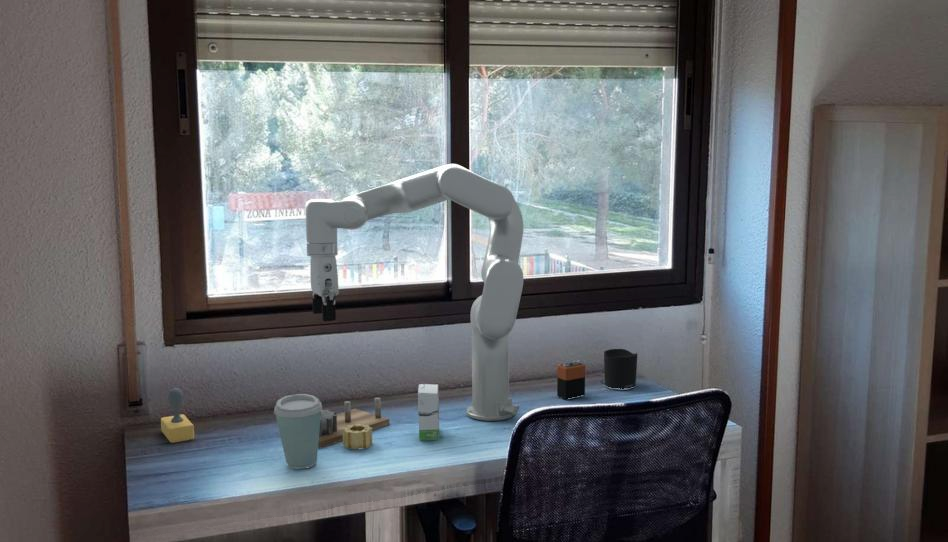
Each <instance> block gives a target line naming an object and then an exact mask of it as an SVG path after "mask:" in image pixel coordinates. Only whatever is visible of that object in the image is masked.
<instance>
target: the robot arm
mask: <svg viewBox="0 0 948 542" xmlns="http://www.w3.org/2000/svg"><path fill="white" fill-rule="evenodd" d="M449 200H450V201H452V202H453V203H456V204H458V205H460V206H462V207H464V208H467V209H469V210H470V211H473V212H475V213H477V214H480V215H482V216H484V217H486V218H487V220H488V223H489V234H488V240H487V241H488V242H487V245H486V250H485V254H484V259H483V262H482V266H481V272H480V273H481V274H480V275H481V279H482V281H483V284H484V285H483V289H482V294H481V295H480V296H478V297H477V298H476V299H475V300H474V301H473V303H472V306H471V308H470V313H469V314H470V315H469V316H470V318H469V319H470V330H471V381H472V382H471V385H472V387H471V388H472V389H471V395H472V396H471V397H472V398H471V401H472V402H471V403H472V404H471V405H470V406H468V407H467V408H466V410H465V411H466V416H468V417H469V418H471V419H475V420H477V421H483V422H484V421H486V422H495V421H496V422H497V421H505V420H508V419H510V418H512V417H515V416H516V415H517V414H518V411H519V410H520V406H519V405H517V404H513V398H512V397H510V371H509V370H510V358H509V357H510V341H509V340H510V339H509V338H510V337H509V333H511V332H512V330H513V328H514V326H515V323H516V319H517V315H518V310H519V306H520V301H521V296H522V292H523V288H524V287H523V286H524V273H523V269H522V267H521V266H520V265H519V261H520V254H521V249H522V244H523V237H524V220H523V219H524V218H523V215H522V211H521V208H520V206H519V204H518V202H517V200H516V199H515V197H514V195H513V192H512V191H511V190H510V189H509V188H507V186H503V185H502V184H500V183H497V182H495V181H492V180H490V179H488V178H486V177H484V176H482V175H479V174H477V173H475V172H473V171H472V170H469V169H467V168H466V167H464V166H462V165H460V164H458V163H449V164H448V163H447V164H444V165H440V166H438V167H435V168H432V169H428V170H426V171H422V172H419V173H416V174H412V175H410V176H407V177H403V178H401V179H397V180H395V181H392V182H389V183H386V184H384V185H383V184H382V185H380V186H377V187H374V188H371V189H367V190H364V191H361V192H357V193H355V194H352V195H349V196H347V197H344V198H343V199H342V200H336V201H335V200H333V199H331V198H314V199H309V200H308V201H307V202H306V203H305V232H306V235H305V236H306V238H305V239H306V256H307V257H310V261H309V262H310V270H309V271H310V272H309V273H310V288H311V291H312V294H311V295H312V299H311V301H312V314H314V315H318V314H321V315H322V316H321V317H322V321H323V322H332V321H333V322H334V321H336V319H337V316H336V315H337V314H336V313H337V312H336V308H337V307H336V297H335V296H338V295H339V294H340V293H339V292H340V291H339V290H340V289H339V277H338V276H339V275H338V266H337V258H336V256H338V251H339V250H338V249H339V248H338V229H343V230H353V231H355V230H358V229H360V228H362V227H363V226H364V225H366V223H367V222H368V221H370V220H374V219H376V218H377V219H378V218H380V217H384V216H387V215H393V214H406V213H412V212H416V211H418V210H422V209H424V208H428V207H430V206H434V205H436V204H439V203H442V202H445V201H449Z"/></svg>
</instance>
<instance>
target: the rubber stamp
mask: <svg viewBox="0 0 948 542" xmlns="http://www.w3.org/2000/svg"><path fill="white" fill-rule="evenodd" d="M183 398H184V393H183V391H182V390H181V389H180V388H178V387H174V388H171V389H170V390H169V392H168V398H167V399H168V402H169V405H170V407H171V408H172V411H173V414H174V415H171V416H170V415H169V416H164V417H161V418H160V427H161V429H160V430H161V432H162V433H163V435H164V436H165V438H166V439H167V440H168V441H169V443H172V444H175V443H178V442H179V443H180V442H186V441H191V440H194V439H195V426H194V424H193V423H192V422H191V421H190V419H189V418H188V417H187V416H186V415H185V414H182V413H181V414H180V410H181V407H182V404H183V400H184V399H183ZM190 439H191V440H190Z"/></svg>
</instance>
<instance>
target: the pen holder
mask: <svg viewBox="0 0 948 542" xmlns="http://www.w3.org/2000/svg"><path fill="white" fill-rule="evenodd" d="M603 364H604V365H603V367H604V370H603V371H604V386H605V385H606V386H608V387H611V388H620V389H621V388H622V389H624V388H631V387H634V386H635V387H636V384H637V370H638V369H637V367H638V352H636V353H632V352H631V351H629V350H627V349H624V348H611V349H607V350H604V352H603ZM606 386H605V387H606ZM635 387H634V388H635Z"/></svg>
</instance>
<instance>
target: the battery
mask: <svg viewBox="0 0 948 542" xmlns="http://www.w3.org/2000/svg"><path fill="white" fill-rule="evenodd" d="M556 367H557V373H556V374H557V375H556V376H557V377H556V378H557V382H556V384H557V388H556V391H557V392H556V393H557V394H556V395H557V397H558V396H559V397H558V398H560V397H562V398H565V399H568V398H572V397H577V396H581V395H585V396H586V365H585V364H584V363H581V360H579V359H573V360H572V361H571V362H563V363H562V364H558V365H557V366H556ZM562 398H561V399H562ZM565 399H564V400H565Z"/></svg>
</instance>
